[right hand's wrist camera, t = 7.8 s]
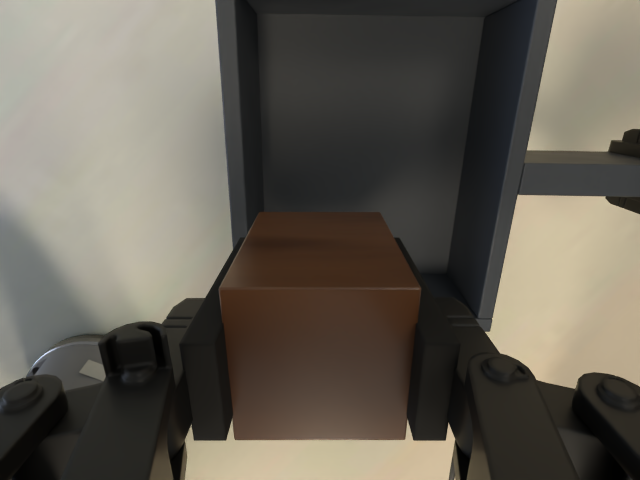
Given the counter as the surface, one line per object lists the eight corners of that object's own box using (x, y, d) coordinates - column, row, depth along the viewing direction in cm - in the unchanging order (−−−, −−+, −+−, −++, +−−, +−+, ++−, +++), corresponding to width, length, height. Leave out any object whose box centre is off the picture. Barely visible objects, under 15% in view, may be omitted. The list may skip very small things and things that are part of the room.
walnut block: (374, 316, 16) (405, 441, 10) (265, 316, 15) (234, 441, 10) (380, 211, 14) (422, 288, 8) (258, 211, 14) (217, 288, 8)
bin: (606, 282, 26) (688, 335, 20) (257, 276, 26) (238, 327, 20) (693, 6, 20) (844, -31, 14) (244, -1, 20) (211, -41, 14)
